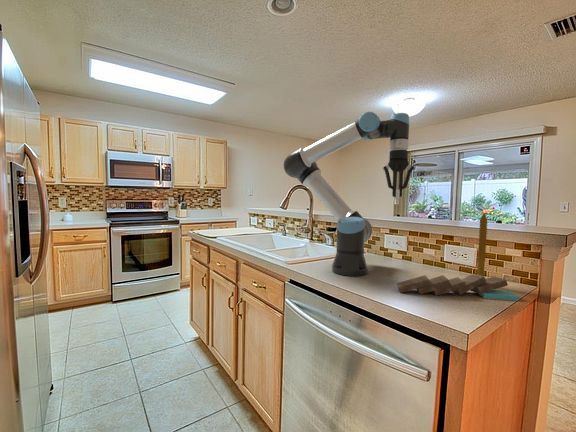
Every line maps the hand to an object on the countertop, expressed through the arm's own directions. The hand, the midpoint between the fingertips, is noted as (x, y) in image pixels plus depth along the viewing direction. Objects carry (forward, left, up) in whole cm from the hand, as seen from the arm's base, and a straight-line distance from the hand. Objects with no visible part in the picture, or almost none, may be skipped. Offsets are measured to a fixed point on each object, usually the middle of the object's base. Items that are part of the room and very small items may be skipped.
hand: (396, 204), depth 126 cm
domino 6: (+22, -29, -29) cm, 47 cm away
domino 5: (+20, -29, -28) cm, 45 cm away
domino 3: (+7, -30, -29) cm, 42 cm away
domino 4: (+14, -29, -28) cm, 43 cm away
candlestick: (+28, -16, -30) cm, 44 cm away
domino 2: (+2, -30, -29) cm, 42 cm away
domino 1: (-4, -30, -29) cm, 42 cm away
